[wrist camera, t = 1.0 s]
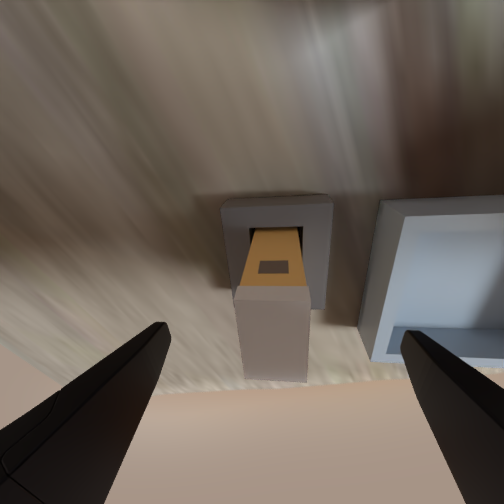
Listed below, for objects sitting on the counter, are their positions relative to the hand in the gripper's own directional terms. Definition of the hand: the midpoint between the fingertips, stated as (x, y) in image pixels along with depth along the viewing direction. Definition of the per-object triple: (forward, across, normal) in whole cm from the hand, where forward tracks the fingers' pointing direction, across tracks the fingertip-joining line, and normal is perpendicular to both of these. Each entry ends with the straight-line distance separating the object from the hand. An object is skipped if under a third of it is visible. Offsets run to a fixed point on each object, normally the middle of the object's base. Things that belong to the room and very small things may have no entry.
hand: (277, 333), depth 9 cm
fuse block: (+7, 0, 0) cm, 7 cm away
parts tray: (+8, -11, +2) cm, 13 cm away
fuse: (+8, 0, 0) cm, 8 cm away
